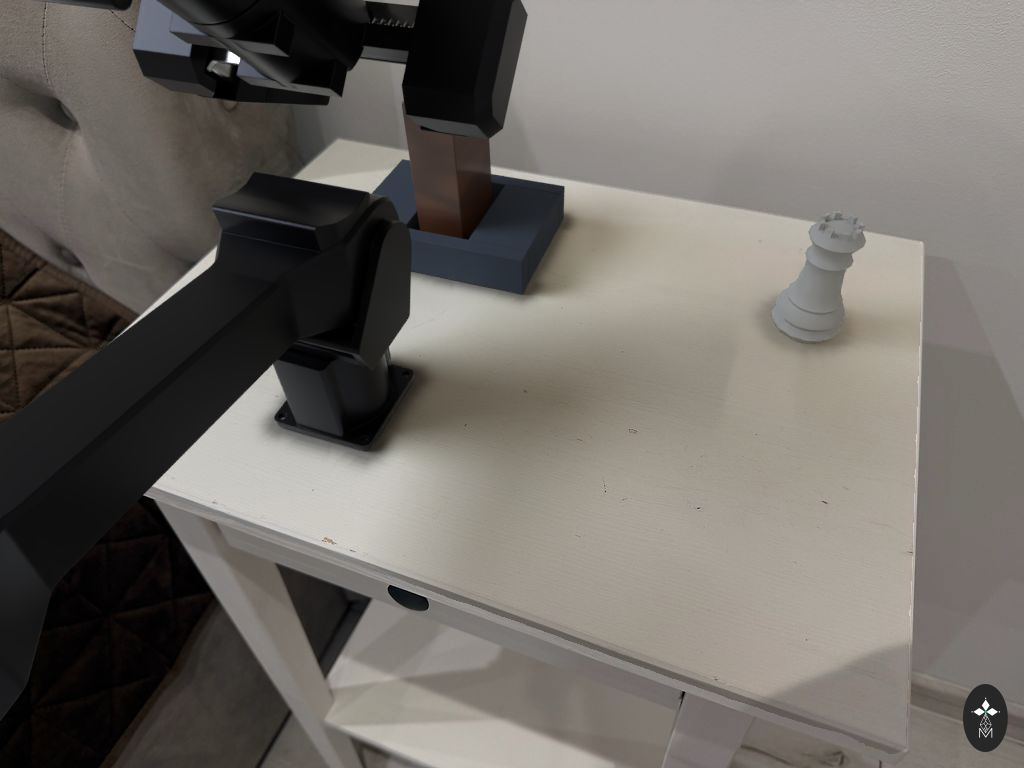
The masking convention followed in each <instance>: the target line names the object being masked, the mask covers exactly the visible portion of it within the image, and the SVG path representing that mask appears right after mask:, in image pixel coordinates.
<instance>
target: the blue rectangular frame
mask: <svg viewBox="0 0 1024 768" xmlns="http://www.w3.org/2000/svg"><path fill="white" fill-rule="evenodd" d="M491 182H492V200H493V204H492V206H491V207H490V208H489V210H488V211H487V213H486V214H485V216H484V217H483V219H482V220H481V222H480V223H479V225H478V226H477V228H476V229H475V231H474V232H473V234H472V235H471V237H470V238H469V240H466V239H461V238H456V237H451V236H446V235H441V234H435V233H430V232H425V231H420V226H419V219H418V212H417V206H416V199H415V192H414V185H413V178H412V171H411V165H410V159H405V158H404V159H403V158H401V160H400V161H399V162H398V164H397V165H395V167H394V168H393V169H392V170H391V171H390V172H389V174H387V176H386V177H385V178H384V179H383V180H382V181H381V183H379V184H378V186H376V188H375V189H374V190H373V191H372V192H371V194H376V195H382V196H387V197H389V198H390V199H391V201H392V203H393V204H394V206H395V209H396V211H397V213H398V217H399V221H400V222H403V223H405V224H406V225H407V227H408V228H409V231H410V235H411V244H412V253H411V272H413V273H419V274H422V275H423V274H424V275H428V276H433V277H438V278H442V279H447V280H452V281H456V282H462V283H467V284H471V285H475V286H479V287H484V288H485V287H486V288H490V289H495V290H500V291H505V292H509V293H514V294H519V295H524V293H525V291H526V290H527V288H528V286H529V284H530V282H531V281H532V278H533V276H534V275H535V273H536V271H537V269H538V267H539V265H540V263H541V262H542V260H543V258H544V257H545V254H546V252H547V250H548V248H549V247H550V245H551V243H552V241H553V240H554V237H555V236H556V234H557V233H558V230H559V228H560V226H561V225H562V223H563V221H564V219H565V190H566V188H565V187H566V186H565V185H562V184H561V185H560V184H555V183H548V182H542V181H536V180H531V179H524V178H518V177H512V176H505V175H502V174H501V175H499V174H493V173H491Z"/></svg>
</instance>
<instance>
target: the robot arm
mask: <svg viewBox="0 0 1024 768" xmlns="http://www.w3.org/2000/svg"><path fill="white" fill-rule="evenodd" d="M36 1H38V2H40V3H41V2H42V3H50V4H57V5H66V6H67V5H68V6H74V7H83V8H92V9H100V10H109V11H116V12H127V11H128V10H129V9H130V8H131V7H132V4H133V0H36ZM528 16H529V15H528V12H527V10H526V8H525V6H524V4H523V2H522V0H418V4H417V5H413V4H411V5H410V4H400V3H392V2H382V1H371V0H140V4H139V9H138V15H137V19H136V20H137V21H136V27H135V31H134V37H133V43H132V48H131V49H132V52H133V54H134V57H135V59H136V61H137V64H138V66H139V69H140V71H141V73H142V76H143V77H144V78H146V79H148V80H150V81H152V82H153V83H156V84H158V85H159V86H161V87H163V88H165V89H167V90H169V91H170V92H176V93H182V94H189V95H195V96H197V97H201V98H207V99H213V100H220V101H227V102H234V103H242V104H243V103H244V104H270V105H292V106H294V105H295V106H317V107H320V106H321V107H326V106H328V105H329V103H330V99H331V97H334V98H341V99H342V98H343V95H344V90H345V84H346V81H347V80H346V79H347V74H348V73H349V72H351V71H353V70H354V69H355V67H356V66H357V64H358V62H359V61H360V60H366V61H372V62H373V61H374V62H380V63H381V62H382V63H389V64H397V65H405V68H404V72H403V76H402V80H401V81H402V82H401V91H402V97H403V98H402V99H403V101H404V106H405V112H406V115H407V116H408V117H409V118H410V119H411V120H412V121H413V122H414V123H416V124H419V125H421V126H420V129H421V130H422V131H428V132H435V133H441V134H448V135H454V136H461V137H477V138H483V139H489V140H491V139H492V138H493V137H494V136H495V135H496V134H498V133H499V132H501V131H502V130H504V126H505V122H506V118H507V117H506V116H507V112H508V107H509V102H510V99H511V93H512V90H513V85H514V80H515V77H516V71H517V67H518V62H519V58H520V53H521V48H522V44H523V41H524V34H525V30H526V26H527V20H528ZM211 208H212V212H213V214H214V216H215V218H216V221H217V222H218V225H219V231H218V232H219V233H218V238H217V245H216V250H215V258H214V261H213V263H212V264H211V265H210V266H209V267H208V268H207V269H205V270H204V271H203V272H201V273H200V274H199V275H198V276H196V277H195V278H193V279H192V280H191V281H189V282H188V283H187V284H186V285H184V286H183V287H182V288H180V289H179V290H177V291H176V292H175V293H173V294H172V295H171V296H169V297H168V298H167V299H166V300H164V301H163V302H161V304H159V305H158V306H156V307H155V308H154V309H152V310H151V311H150V312H148V313H147V314H146V315H144V316H143V317H142V318H140V319H139V320H138V321H137V322H136V323H134V324H133V325H131V326H130V327H129V328H127V329H126V330H125V331H123V332H122V333H121V334H119V335H118V336H117V337H115V338H114V339H113V340H111V341H110V342H108V343H107V344H106V345H105V346H103V347H102V348H101V349H100V350H98V351H97V352H95V353H94V354H93V355H92V356H91V357H89V358H88V359H86V360H85V361H83V362H82V363H81V364H80V365H79V366H77V367H75V369H73V370H71V372H69V373H67V374H66V376H63V378H61V379H60V380H59V381H57V382H56V383H54V385H52V386H51V387H50V388H49V387H48V389H47V390H45V391H44V392H43V393H41V394H40V395H39V396H38V397H36V398H35V399H33V400H32V401H31V402H29V403H28V404H27V405H25V406H24V407H23V408H22V409H20V410H19V411H18V412H17V413H15V414H13V416H11V417H10V418H8V419H7V420H6V421H4V422H3V423H2V424H1V425H0V722H1V721H2V719H3V718H4V717H5V716H6V714H7V713H8V712H9V710H10V709H11V708H12V706H13V705H14V704H15V702H16V701H17V700H18V698H20V695H21V694H22V693H23V691H24V690H25V688H26V687H27V684H28V682H29V678H30V675H31V671H32V668H33V667H32V666H33V663H34V660H35V655H36V652H37V648H38V644H39V641H40V637H41V633H42V629H43V626H44V622H45V618H46V614H47V612H48V611H47V610H48V607H49V603H50V599H51V595H52V592H53V590H54V588H56V586H57V585H58V583H59V582H60V581H61V580H62V579H63V577H64V576H65V575H66V574H67V573H68V572H69V571H70V570H71V569H72V568H73V567H74V566H75V565H76V564H77V563H78V562H79V561H80V560H81V559H82V558H83V557H84V556H85V555H86V554H87V553H88V552H89V551H90V550H91V549H92V548H93V547H94V546H95V545H96V544H97V543H98V542H99V540H101V538H103V537H104V536H105V534H107V533H108V531H110V529H111V528H113V527H114V526H115V525H116V523H117V522H119V521H120V519H121V518H122V517H123V516H124V515H125V514H126V513H127V512H128V511H129V510H130V509H131V508H132V507H134V505H135V504H136V503H137V502H138V501H139V500H140V499H141V498H142V497H144V495H145V494H146V493H147V492H148V491H149V490H150V489H151V488H152V487H153V486H154V485H155V484H156V483H157V482H158V481H159V480H160V479H162V477H163V476H164V475H165V474H166V473H167V472H168V471H169V470H170V469H171V468H172V467H173V466H174V465H175V464H176V463H177V462H178V461H179V460H180V459H181V458H182V457H183V456H184V455H185V454H186V453H187V452H188V451H189V450H190V449H191V448H192V447H193V445H195V444H196V443H197V442H198V441H199V439H200V438H202V436H204V435H205V433H206V432H207V431H209V430H210V428H211V427H212V426H213V425H214V424H216V422H217V421H218V420H219V419H220V418H222V417H223V415H224V414H225V413H226V412H227V411H229V409H230V408H231V407H232V406H233V405H234V404H235V403H236V402H237V401H238V400H239V399H240V398H241V397H242V396H243V395H244V394H245V393H247V391H248V390H249V389H250V388H251V387H252V386H253V385H254V384H255V383H256V382H257V381H258V380H259V379H260V378H261V377H262V376H263V374H265V373H266V372H267V371H268V370H269V369H270V368H271V367H272V366H273V369H274V370H275V373H276V376H277V379H278V381H279V383H280V386H281V388H282V391H283V393H284V396H285V398H286V400H284V402H283V404H282V405H281V406H280V407H279V409H278V410H277V411H276V413H275V414H274V421H275V424H276V425H277V426H278V427H280V428H284V429H288V430H291V431H294V432H298V433H301V434H304V435H308V436H312V437H315V438H318V439H322V440H326V441H328V442H333V443H336V444H339V445H343V446H347V447H350V448H353V449H357V450H360V451H368V450H370V449H371V448H372V447H373V446H374V445H375V443H376V442H377V440H378V438H379V436H380V435H381V433H382V432H383V431H384V428H385V427H386V425H387V424H388V422H389V421H390V419H391V417H392V416H393V414H394V413H395V411H396V409H397V407H398V406H399V404H400V403H401V401H402V400H403V398H404V396H406V393H407V392H408V390H409V389H410V387H411V385H412V384H413V382H414V380H415V375H414V371H413V370H412V369H411V368H408V367H404V366H400V365H396V364H392V362H391V360H392V355H391V350H390V347H391V345H392V343H393V342H394V340H395V339H396V337H397V336H398V335H399V333H400V332H401V330H402V329H403V327H404V326H405V324H406V323H407V321H408V320H409V319H410V316H411V291H412V289H411V288H412V287H411V286H412V271H411V253H412V244H411V235H410V231H409V228H408V227H407V225H406V224H405V223H403V222H400V221H399V217H398V213H397V211H396V209H395V206H394V204H393V203H392V201H391V199H390V198H389V197H387V196H382V195H376V194H372V192H371V193H370V191H366V190H360V189H356V188H355V189H354V188H350V187H344V186H338V185H332V184H328V183H322V182H316V181H312V180H311V181H310V180H305V179H299V178H295V177H288V176H285V175H284V176H283V175H278V174H273V173H267V172H261V171H256V170H254V171H253V172H252V174H251V175H250V177H249V178H248V179H247V181H246V182H245V183H244V185H242V187H240V188H239V189H238V190H236V191H235V192H233V193H231V194H228V195H226V196H224V197H221V198H218V199H216V200H215V201H214V202H213V204H212V207H211Z"/></svg>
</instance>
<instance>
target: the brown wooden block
mask: <svg viewBox="0 0 1024 768" xmlns="http://www.w3.org/2000/svg"><path fill="white" fill-rule="evenodd" d="M401 108H402V110H401V111H402V115H403V122H404V129H405V136H406V144H407V150H408V157H409V160H410V165H411V171H412V178H413V185H414V192H415V199H416V206H417V212H418V219H419V226H420V231H425V232H430V233H435V234H441V235H446V236H451V237H456V238H461V239H466V240H469V238H470V237H471V235H472V234H473V232H474V231H475V229H476V228H477V226H478V225H479V223H480V222H481V220H482V219H483V217H484V216H485V214H486V213H487V211H488V210H489V208H490V207H491V206H492V204H493V200H492V182H491V174H492V164H491V147H490V139H483V138H477V137H461V136H454V135H448V134H441V133H435V132H428V131H422V130H421V129H420V126H421V125H419V124H416V123H414V122H413V121H412V120H411V119H410V118H409V117H408V116H407V115H406V112H405V106H404V100H403V101H401Z"/></svg>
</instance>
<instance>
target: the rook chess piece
mask: <svg viewBox="0 0 1024 768" xmlns="http://www.w3.org/2000/svg"><path fill="white" fill-rule="evenodd" d="M843 213H844V211H843V210H834V211H833V213H832V215H831V213H829V212H828V211H826V212H824V213H822V214H821V215H820V218H819V219H818V222H816V223H814V224H813V225H810V228H809V229H808V230H807V231H808V236H809V239H810V241H811V243H812V244H811V245H810V246H808V247H806V250H805V252H804V254H805V258H806V259H805V262H804V266H803V267H802V268H801V271H800V272H799V275H798V276H797V278H796V279H795V280H794V281H793V282H791V283H789V285H788V287H786V288H784V289H783V290H782V291H781V292H780V293H779V295H778V297H777V299H776V301H775V304H774V306H773V307H772V310H771V317H772V321H773V323H774V325H775V326H776V327H777V329H778V330H779V332H780V333H782V334H783V335H785V336H786V337H787V338H789V339H791V340H794V341H797V342H800V343H805V344H807V343H808V344H817V343H821V342H825V341H828V340H830V339H832V338H834V336H836V335H838V334H839V333H840V331H841V328H842V322H843V320H844V318H845V316H846V310H845V309H846V308H845V306H844V297H843V294H842V288H843V284H844V278H845V274H846V272H847V269H849V268H851V267H852V266H853V264H854V261H855V260H854V257H853V254H854V253H856V252H858V251H860V250H862V249H863V248H864V247H865V245H866V243H867V240H866V237H865V233H864V229H865V228H866V225H865V222H864V221H858V219H859V216H858V215H855V214H854V213H850V214H849V215H848V218H844V217H843Z"/></svg>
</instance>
